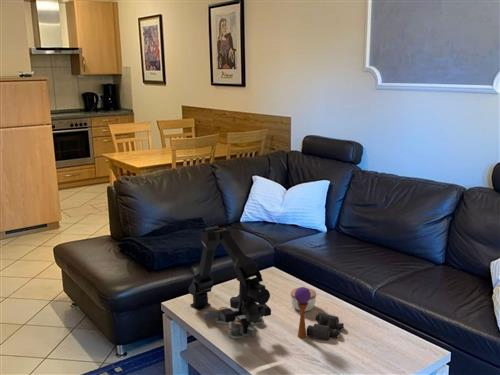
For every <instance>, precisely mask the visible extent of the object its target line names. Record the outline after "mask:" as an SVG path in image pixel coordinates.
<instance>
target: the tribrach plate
mask: <svg viewBox="0 0 500 375" xmlns="http://www.w3.org/2000/svg"><path fill="white" fill-rule="evenodd" d="M214 320H215V322H216V323H217V324H220V325H229V322H225V321H222V320H220V319H219V318H216V319H214ZM263 323H264V319H263V317H260V321H257V322H254V321H253V322H251V323H250V324H249V326H259V325H262V324H263ZM245 336H246V335H244V334H240V335H233V334H232V333H231V330H229V331H228V338H230V339H234V340H239V339H243V338H244V337H245Z"/></svg>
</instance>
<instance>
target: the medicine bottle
mask: <svg viewBox="0 0 500 375" xmlns="http://www.w3.org/2000/svg"><path fill="white" fill-rule="evenodd" d="M238 295H239V294H237V295H233V296H232V297H230V299H229V305H230V308H231V309H232V310H233V311H238V308H237V305H239V298H238ZM234 321H239V319H238V318H237V317H236V319H235V320H234ZM231 323H232V322H229V323H228V328H229V329H230V330H231Z"/></svg>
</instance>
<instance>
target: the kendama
mask: <svg viewBox="0 0 500 375" xmlns="http://www.w3.org/2000/svg"><path fill="white" fill-rule="evenodd" d="M297 288H298V289H297V290H296V292H295V298H296V300H297V301H298V302H297V304H298V306H299V308H300V310H301V311H300V317H299V325H298V331H297V337H298V338H299V339H306V338H307V334H306V331H307V327H306V320H305V312H306V311H305V309H306V307H307V305H308V301H309V300H310V298H311V293H310V291H309V290H308V289H307V288H308V287H305V286H300V287H297ZM304 311H305V312H304Z"/></svg>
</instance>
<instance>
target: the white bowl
mask: <svg viewBox="0 0 500 375" xmlns="http://www.w3.org/2000/svg"><path fill="white" fill-rule="evenodd" d="M298 288H299V287H297V288H294V289H292V290H291V291H290V297H291V298H290V300H291V304H292V307H293V308H294V309H295V310H296V311H299V312H301V310H300V308H299V306H298V304H297V302H298V301H297V300H296V298H295V292H296V290H297V289H298ZM306 288H307V289H308V290H309V291H310V293H311V298H310V300H309V301H308V305H307V307H306V309H305V311H304V313H305V312H309V311H311V310H312V309H313V308H314V307H315V306H316V299H317V298H316V297H317V292H316V291H315V290H314V289H313V288H309V287H306Z"/></svg>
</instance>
